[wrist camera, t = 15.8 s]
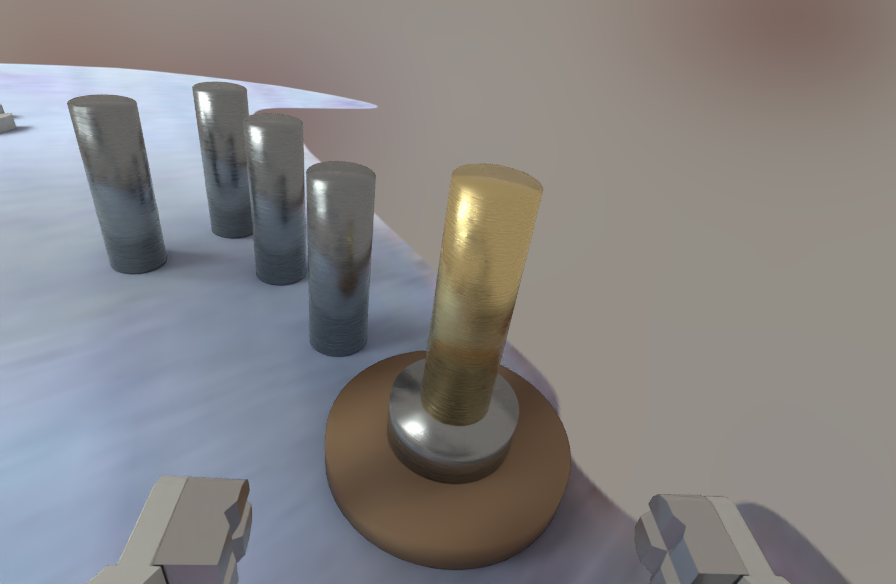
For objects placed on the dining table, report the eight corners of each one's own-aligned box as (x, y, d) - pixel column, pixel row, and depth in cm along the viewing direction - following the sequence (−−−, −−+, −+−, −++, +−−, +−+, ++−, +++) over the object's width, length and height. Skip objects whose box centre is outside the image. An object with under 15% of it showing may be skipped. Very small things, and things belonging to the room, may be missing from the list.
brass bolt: (360, 426, 23) (374, 168, 16) (444, 370, 27) (483, 141, 20) (455, 510, 20) (518, 239, 14) (534, 434, 24) (613, 192, 17)
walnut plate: (274, 445, 24) (273, 422, 23) (439, 344, 31) (442, 324, 30) (457, 635, 18) (463, 615, 17) (604, 458, 25) (613, 437, 25)
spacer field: (364, 358, 29) (373, 191, 24) (39, 338, 27) (-35, 150, 22) (379, 230, 42) (387, 101, 36) (157, 210, 40) (129, 70, 34)
